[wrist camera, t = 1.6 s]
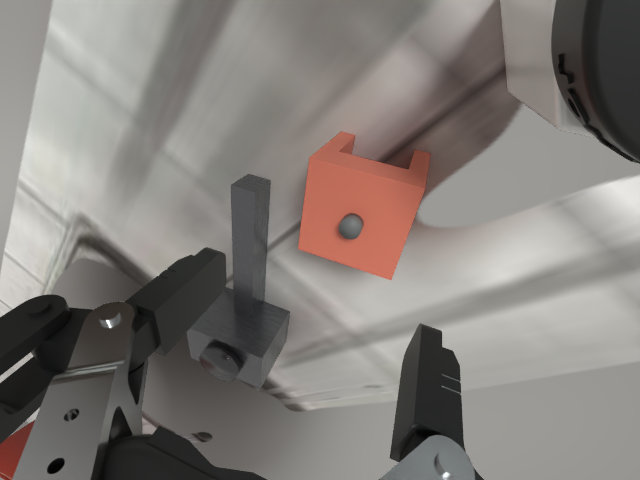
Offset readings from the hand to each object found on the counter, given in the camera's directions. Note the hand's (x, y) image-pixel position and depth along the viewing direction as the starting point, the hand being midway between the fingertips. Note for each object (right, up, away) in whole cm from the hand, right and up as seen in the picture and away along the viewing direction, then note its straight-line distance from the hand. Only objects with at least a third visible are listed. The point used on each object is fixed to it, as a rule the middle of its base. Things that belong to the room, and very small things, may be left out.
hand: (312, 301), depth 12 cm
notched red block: (+4, +6, +10) cm, 12 cm away
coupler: (-6, 0, +18) cm, 19 cm away
